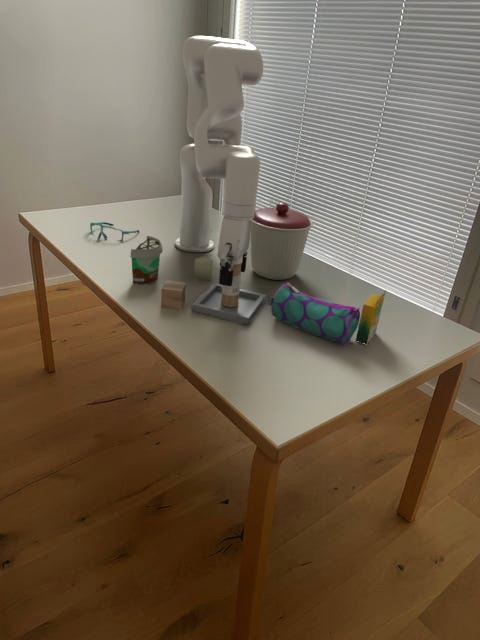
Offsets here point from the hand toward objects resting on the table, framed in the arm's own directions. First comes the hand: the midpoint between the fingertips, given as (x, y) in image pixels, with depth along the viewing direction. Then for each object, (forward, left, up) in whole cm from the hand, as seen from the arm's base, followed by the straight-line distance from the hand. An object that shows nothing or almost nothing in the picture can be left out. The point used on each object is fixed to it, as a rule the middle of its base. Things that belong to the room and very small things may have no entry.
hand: (232, 277), depth 122 cm
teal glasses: (-31, -52, -8) cm, 61 cm away
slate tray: (0, 0, -8) cm, 8 cm away
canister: (-27, +4, -8) cm, 28 cm away
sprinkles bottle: (0, 0, -7) cm, 7 cm away
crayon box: (-1, +34, -8) cm, 35 cm away
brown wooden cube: (+5, -13, -8) cm, 16 cm away
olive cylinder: (-14, -13, -8) cm, 20 cm away
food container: (-5, -25, -8) cm, 27 cm away
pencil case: (+2, +21, -8) cm, 23 cm away
